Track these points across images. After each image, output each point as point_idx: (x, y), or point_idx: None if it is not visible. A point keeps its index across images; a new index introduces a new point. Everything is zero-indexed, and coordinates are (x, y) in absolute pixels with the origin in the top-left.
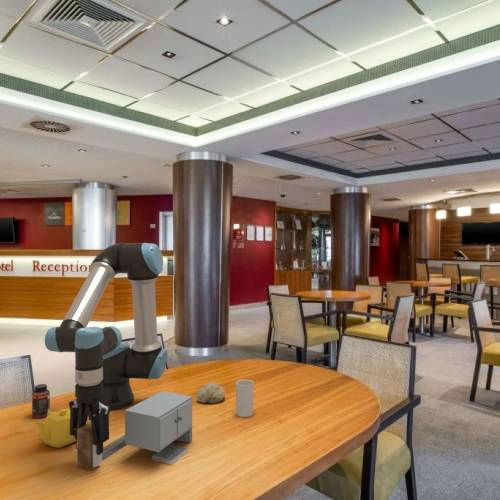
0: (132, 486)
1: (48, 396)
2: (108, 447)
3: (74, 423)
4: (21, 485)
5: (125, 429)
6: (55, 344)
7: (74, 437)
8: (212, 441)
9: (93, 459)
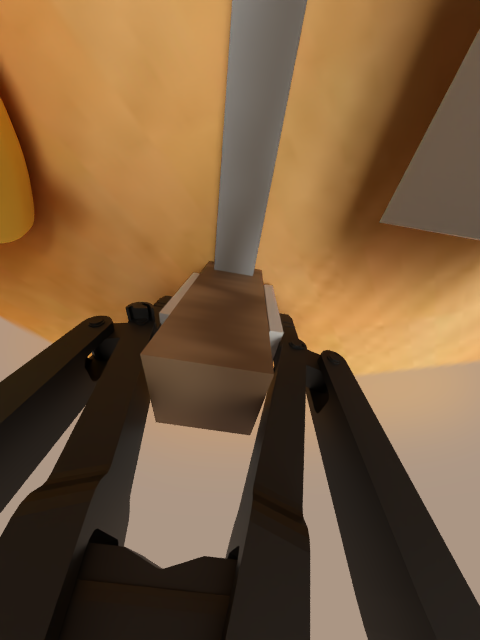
0: (400, 346)
1: None
2: (245, 185)
3: (75, 404)
4: None
5: (470, 237)
6: None
7: (2, 149)
8: None
9: None
